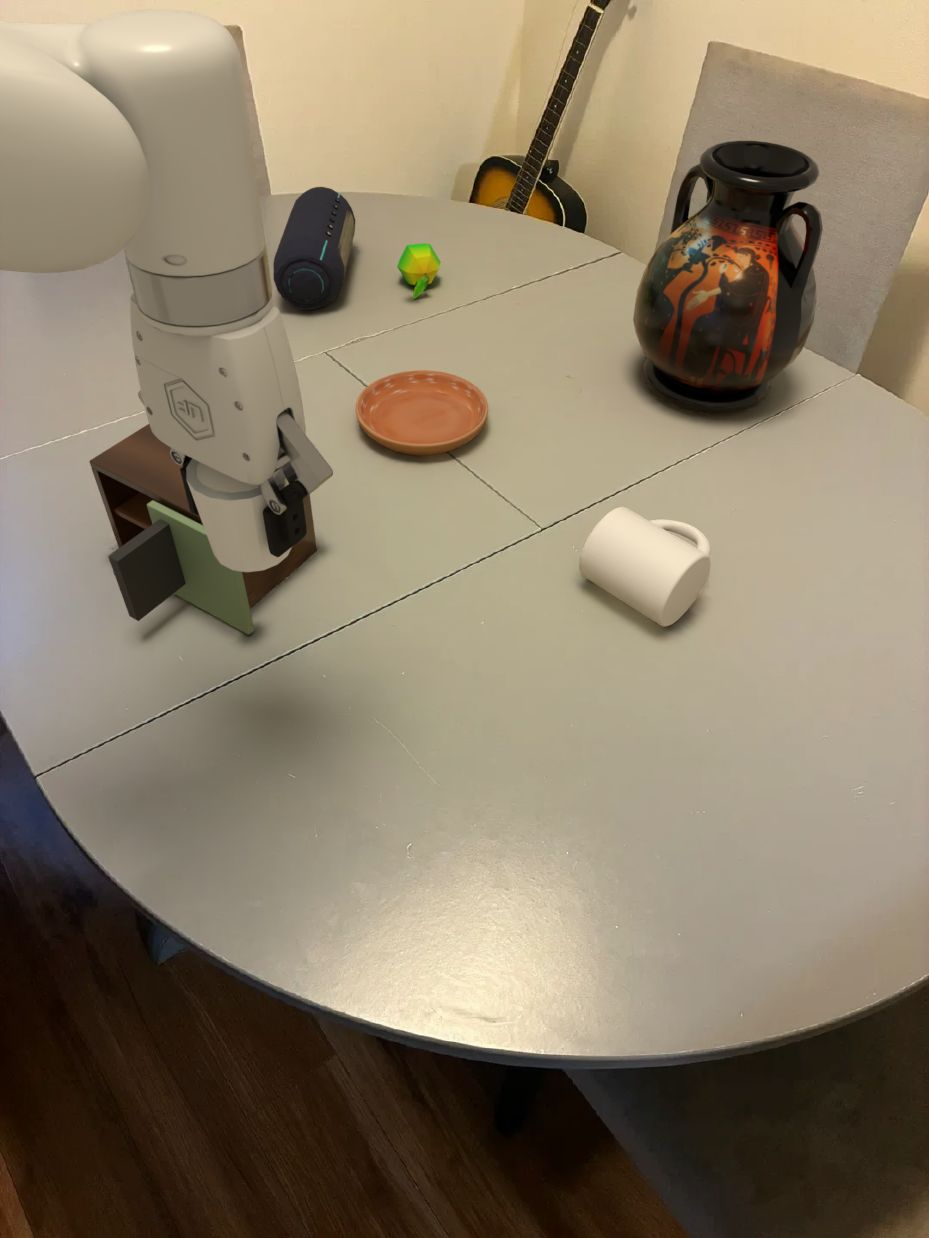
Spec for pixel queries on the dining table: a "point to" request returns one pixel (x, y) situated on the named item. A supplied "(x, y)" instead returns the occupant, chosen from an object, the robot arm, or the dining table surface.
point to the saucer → (422, 412)
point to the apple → (419, 266)
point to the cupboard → (171, 501)
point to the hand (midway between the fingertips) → (248, 522)
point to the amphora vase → (731, 281)
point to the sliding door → (178, 570)
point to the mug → (647, 563)
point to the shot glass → (233, 517)
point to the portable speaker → (314, 249)
